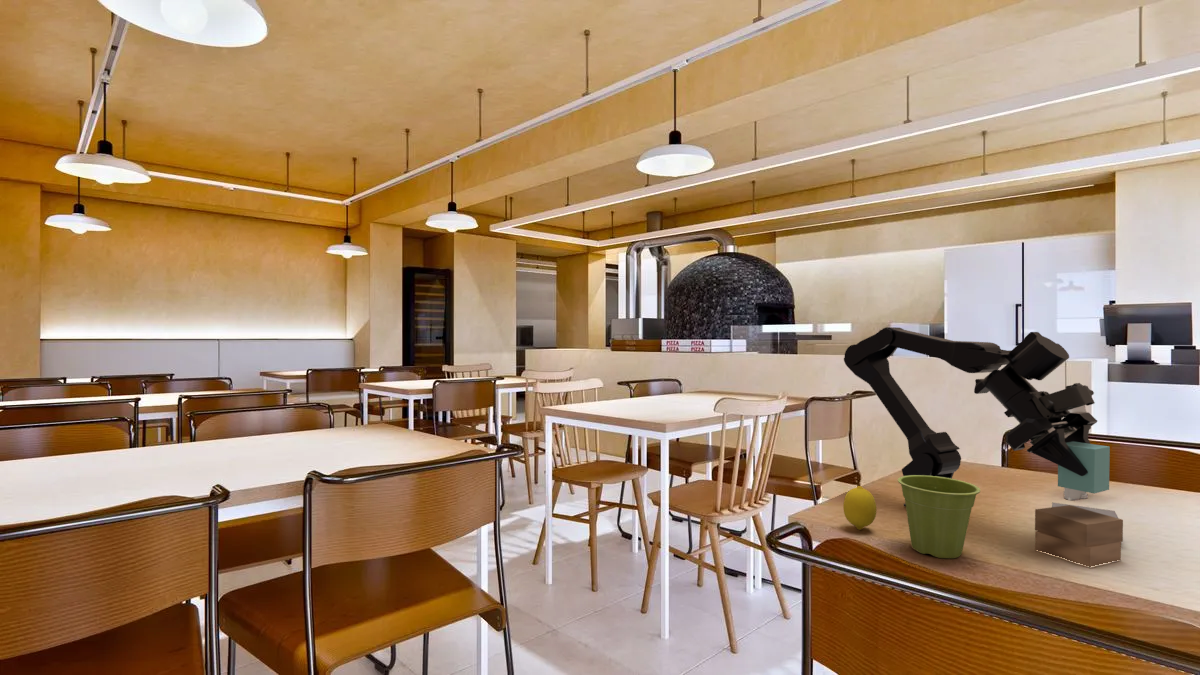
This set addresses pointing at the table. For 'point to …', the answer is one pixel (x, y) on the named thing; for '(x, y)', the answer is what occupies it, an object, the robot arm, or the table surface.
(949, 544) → the plant pot
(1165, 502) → the table surface
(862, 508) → the lemon
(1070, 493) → the tall pale column
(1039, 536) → the tower lower
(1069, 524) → the tower upper
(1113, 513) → the grey flat square block
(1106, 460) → the teal block
